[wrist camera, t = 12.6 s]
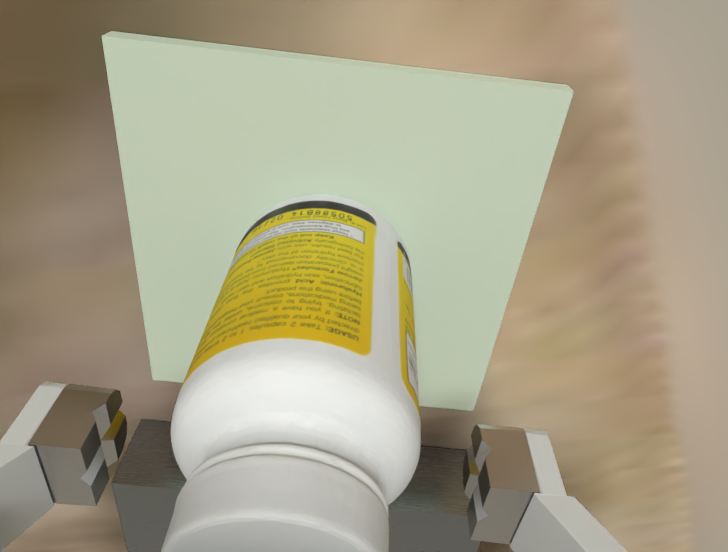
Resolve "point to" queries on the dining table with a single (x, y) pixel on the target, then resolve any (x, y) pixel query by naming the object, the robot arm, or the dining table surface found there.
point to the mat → (329, 181)
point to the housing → (406, 513)
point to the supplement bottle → (301, 389)
